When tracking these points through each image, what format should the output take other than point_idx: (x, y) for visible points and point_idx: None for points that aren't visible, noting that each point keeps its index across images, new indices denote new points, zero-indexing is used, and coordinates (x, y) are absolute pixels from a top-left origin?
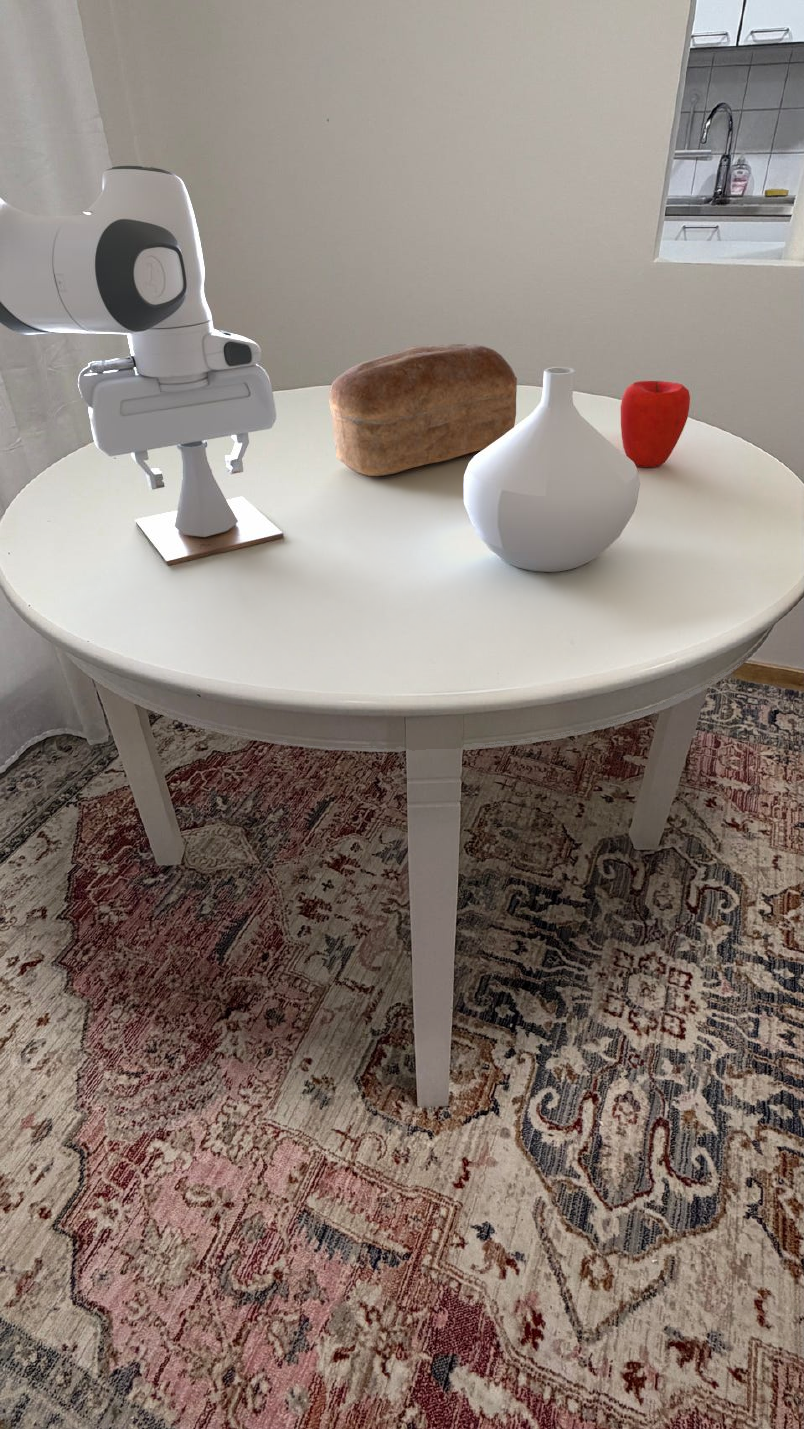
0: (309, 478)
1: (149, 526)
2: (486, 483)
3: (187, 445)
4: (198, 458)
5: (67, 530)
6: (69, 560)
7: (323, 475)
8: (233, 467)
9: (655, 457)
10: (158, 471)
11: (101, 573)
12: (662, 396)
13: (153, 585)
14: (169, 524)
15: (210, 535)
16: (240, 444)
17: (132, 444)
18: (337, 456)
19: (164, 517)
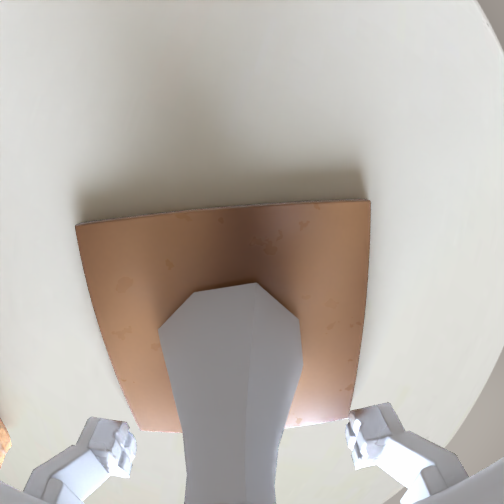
0: (44, 430)
1: (340, 388)
2: None
3: None
4: (221, 480)
5: (428, 412)
6: (474, 312)
7: (28, 425)
8: (110, 432)
9: None
10: (366, 453)
11: (463, 235)
12: None
13: (408, 122)
14: (303, 384)
15: None
16: (62, 479)
17: (500, 486)
18: (6, 438)
19: (300, 413)
